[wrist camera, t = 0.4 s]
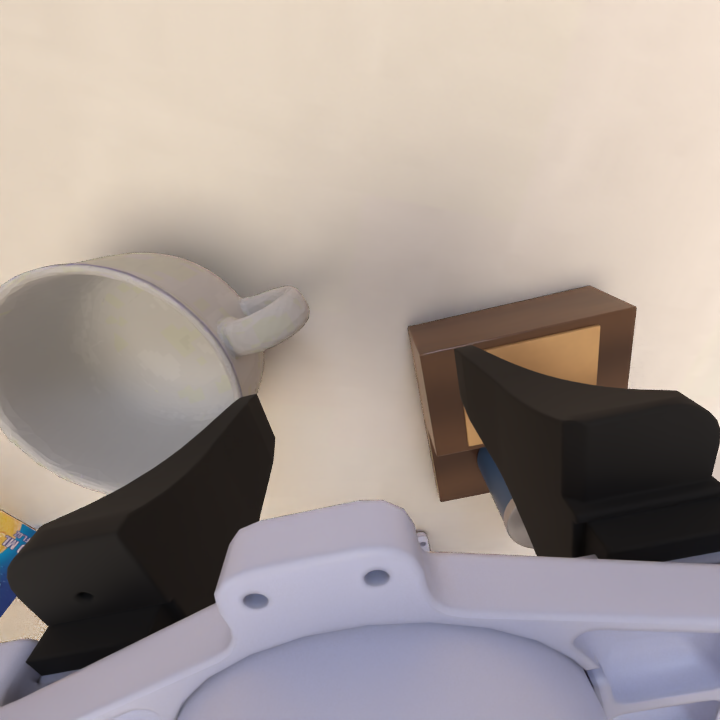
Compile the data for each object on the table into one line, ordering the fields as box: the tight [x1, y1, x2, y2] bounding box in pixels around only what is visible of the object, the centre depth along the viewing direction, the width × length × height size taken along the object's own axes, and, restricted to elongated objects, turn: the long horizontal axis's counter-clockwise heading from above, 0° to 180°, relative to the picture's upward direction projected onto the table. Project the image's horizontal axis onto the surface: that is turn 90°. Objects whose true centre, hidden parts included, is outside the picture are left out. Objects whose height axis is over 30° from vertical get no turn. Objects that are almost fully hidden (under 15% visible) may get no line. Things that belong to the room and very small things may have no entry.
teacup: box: [0, 253, 309, 494], centre depth 19 cm, size 14×11×8 cm
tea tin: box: [477, 447, 534, 549], centre depth 24 cm, size 5×5×6 cm
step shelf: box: [408, 286, 637, 502], centre depth 24 cm, size 14×11×4 cm
